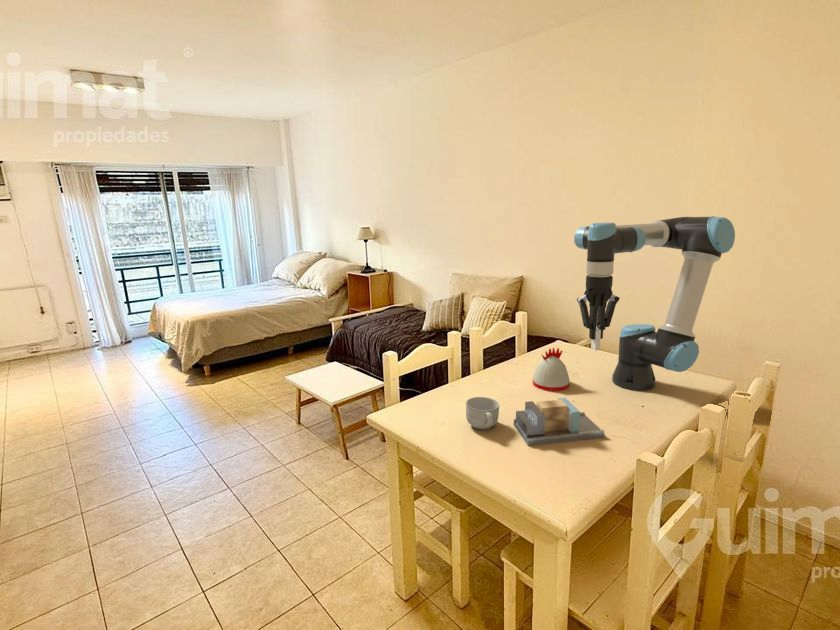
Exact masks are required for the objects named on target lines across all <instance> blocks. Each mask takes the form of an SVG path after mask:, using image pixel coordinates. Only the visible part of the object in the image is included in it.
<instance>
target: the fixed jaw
mask: <svg viewBox="0 0 840 630" xmlns="http://www.w3.org/2000/svg"><path fill="white" fill-rule="evenodd" d="M515 419H516V424H517V425H518V426H519V428H520V429H521V431H522V432H523V434H524V435H525V436H526V438H531V437H540V436H545V415H544V414H543V412H542V411H541V410H540V409H539V408H538V407H537V403H535V402H534V401H530V400H529V401H525V402H524V410H519V411H518V410H517V411H515Z"/></svg>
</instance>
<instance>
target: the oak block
mask: <svg viewBox="0 0 840 630" xmlns="http://www.w3.org/2000/svg"><path fill="white" fill-rule="evenodd" d="M536 406H537V407H538V408H539V409H540V410H541V411H542V412H543V414H544V415H545V432H548V431H557V430H566V429H567V405H566V404H565V403H564V402H563V401H562V400H558V399H552V400H541V401H536Z"/></svg>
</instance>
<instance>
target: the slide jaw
mask: <svg viewBox="0 0 840 630" xmlns="http://www.w3.org/2000/svg"><path fill="white" fill-rule="evenodd" d="M557 400H562V401H563V402H564V403H565V404H566V405H567V429H568V430H569V432H570V433H577V432H579V426H580V412H581V411H580V410H579V409H578V408H577V407H576V406H575V405H574V404H573V403H572V402H571V401H570V400H568V398H567V397H559V398H557Z"/></svg>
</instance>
